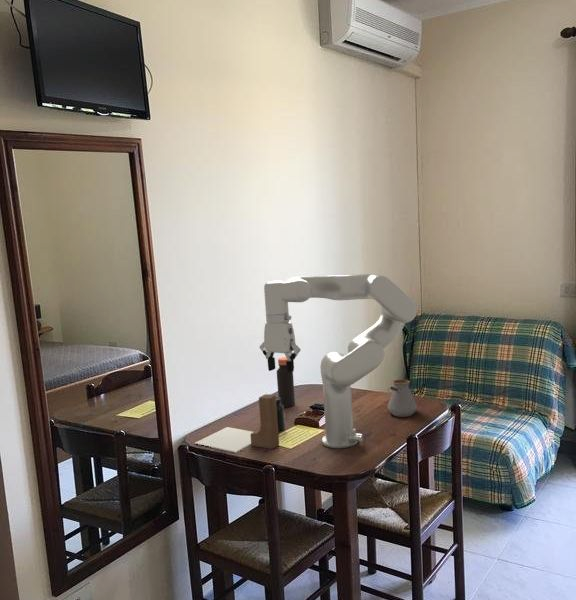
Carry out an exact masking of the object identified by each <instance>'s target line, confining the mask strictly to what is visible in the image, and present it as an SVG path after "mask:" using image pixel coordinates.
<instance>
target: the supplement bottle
mask: <svg viewBox="0 0 576 600" xmlns="http://www.w3.org/2000/svg"><path fill="white" fill-rule="evenodd" d="M276 407H277V422H278V433H279V432H282V431H284V430H285V429H286V424H285V423H286V422H285V407H284V406H283V405H282V404H281V398H280V397H278V396H276Z"/></svg>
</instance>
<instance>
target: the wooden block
mask: <svg viewBox="0 0 576 600" xmlns="http://www.w3.org/2000/svg"><path fill="white" fill-rule="evenodd" d="M276 397H277V396H276V395H275V394H268V393H265V394H263V395H261V396H259V397H258V404H259V405H258V406H259V407H258V408H259V418H260V419H259V420H260V427H259V429H256V430H254V431H252V432H253V433H251V445H250V446H252V447H256V448H257V447H258V448H262V449H263V448H264V449H270V450H273V449H275V448H276V447H278V446H279V444H280V439H279V432H278V422H277V407H276Z"/></svg>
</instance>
